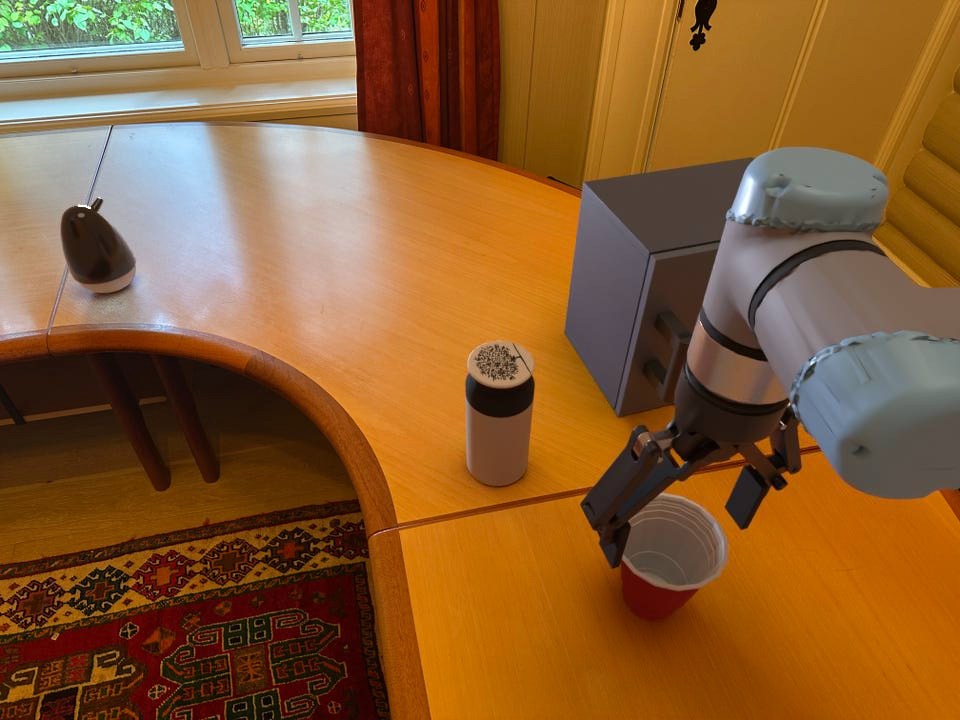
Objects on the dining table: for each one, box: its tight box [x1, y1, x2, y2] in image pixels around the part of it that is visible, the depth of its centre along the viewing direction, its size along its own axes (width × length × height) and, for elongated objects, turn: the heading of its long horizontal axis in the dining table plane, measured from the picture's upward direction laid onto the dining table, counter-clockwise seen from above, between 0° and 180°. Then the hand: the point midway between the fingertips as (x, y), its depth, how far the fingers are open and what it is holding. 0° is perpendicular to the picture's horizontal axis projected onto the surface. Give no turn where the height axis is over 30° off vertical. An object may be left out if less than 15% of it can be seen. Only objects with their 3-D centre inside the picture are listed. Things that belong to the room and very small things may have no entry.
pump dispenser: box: [59, 197, 137, 294], centre depth 103 cm, size 10×10×15 cm
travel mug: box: [464, 340, 536, 487], centre depth 73 cm, size 8×8×18 cm
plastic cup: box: [619, 492, 729, 622], centre depth 62 cm, size 11×11×12 cm
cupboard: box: [563, 156, 755, 411], centre depth 86 cm, size 18×26×26 cm
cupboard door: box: [614, 242, 720, 418], centre depth 77 cm, size 7×26×26 cm, turn 107°
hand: (673, 536), depth 57 cm, fingers open, 13 cm apart
